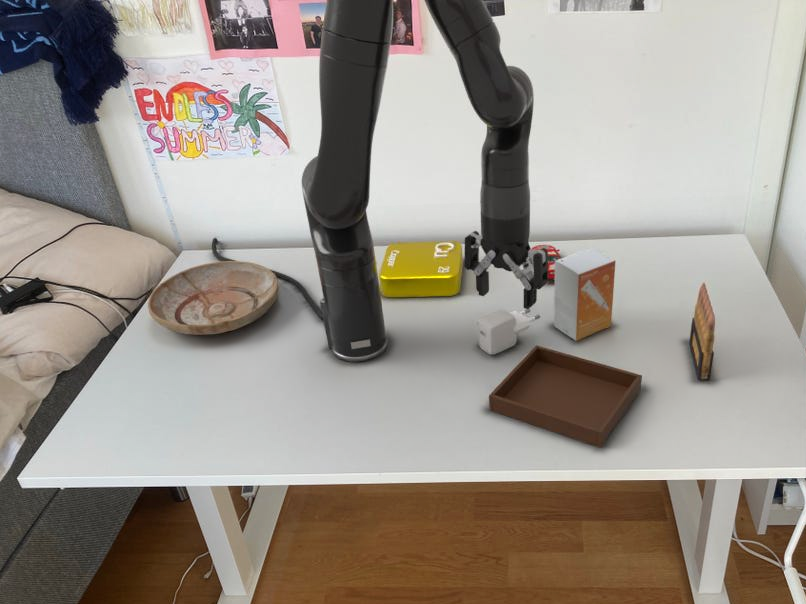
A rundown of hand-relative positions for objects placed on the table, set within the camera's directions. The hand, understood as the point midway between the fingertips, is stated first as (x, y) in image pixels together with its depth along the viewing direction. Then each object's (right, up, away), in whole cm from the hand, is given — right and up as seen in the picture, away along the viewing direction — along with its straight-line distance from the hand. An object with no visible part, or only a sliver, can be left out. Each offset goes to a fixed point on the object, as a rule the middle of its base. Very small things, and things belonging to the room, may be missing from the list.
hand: (505, 300), depth 128 cm
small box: (+14, -4, +9) cm, 17 cm away
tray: (+9, -16, -8) cm, 20 cm away
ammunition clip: (+31, -10, -2) cm, 33 cm away
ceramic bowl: (-53, -1, +18) cm, 56 cm away
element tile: (-15, +6, +26) cm, 30 cm away
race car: (+9, +8, +26) cm, 29 cm away
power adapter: (+1, -7, +6) cm, 9 cm away
